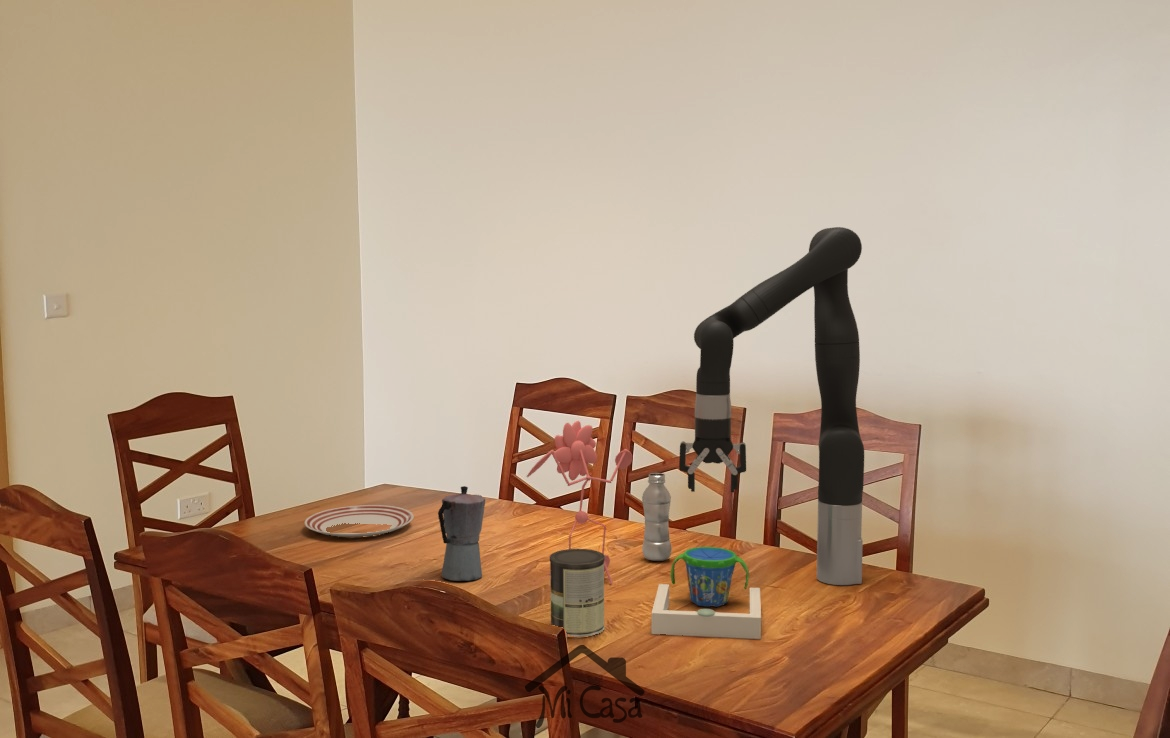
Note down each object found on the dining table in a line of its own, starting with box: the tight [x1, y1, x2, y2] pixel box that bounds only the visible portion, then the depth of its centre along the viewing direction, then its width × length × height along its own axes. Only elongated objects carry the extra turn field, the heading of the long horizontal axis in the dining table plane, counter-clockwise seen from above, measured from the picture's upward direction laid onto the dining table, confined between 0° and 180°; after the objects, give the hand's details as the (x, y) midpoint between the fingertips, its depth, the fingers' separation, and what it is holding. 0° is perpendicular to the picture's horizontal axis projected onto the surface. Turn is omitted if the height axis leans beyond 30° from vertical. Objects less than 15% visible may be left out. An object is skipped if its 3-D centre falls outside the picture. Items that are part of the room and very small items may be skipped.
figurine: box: [526, 420, 635, 586], centre depth 233 cm, size 15×26×35 cm, turn 131°
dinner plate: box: [304, 504, 415, 538], centre depth 281 cm, size 27×27×3 cm
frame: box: [650, 583, 762, 640], centre depth 210 cm, size 20×19×4 cm
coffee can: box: [549, 548, 606, 639], centre depth 205 cm, size 10×10×14 cm
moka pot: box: [437, 485, 486, 582], centre depth 238 cm, size 10×15×20 cm, turn 155°
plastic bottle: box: [641, 472, 672, 562], centre depth 250 cm, size 6×7×20 cm
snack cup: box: [670, 546, 750, 608], centre depth 220 cm, size 16×10×10 cm
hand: (712, 491), depth 231 cm, fingers open, 8 cm apart
